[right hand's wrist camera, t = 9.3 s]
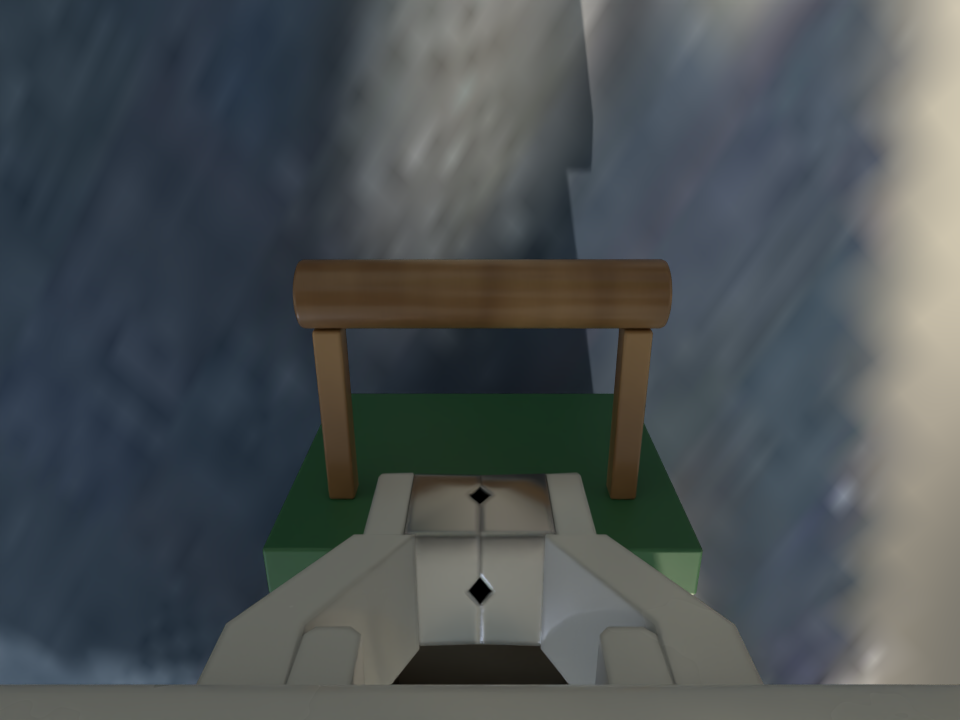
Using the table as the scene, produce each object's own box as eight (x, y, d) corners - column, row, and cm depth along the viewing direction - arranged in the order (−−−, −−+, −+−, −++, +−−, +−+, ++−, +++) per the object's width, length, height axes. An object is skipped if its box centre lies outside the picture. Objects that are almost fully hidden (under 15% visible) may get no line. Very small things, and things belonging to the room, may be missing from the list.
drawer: (317, 211, 19) (220, 290, 12) (647, 211, 18) (744, 290, 12) (375, 832, 29) (342, 1070, 22) (589, 833, 29) (623, 1072, 22)
